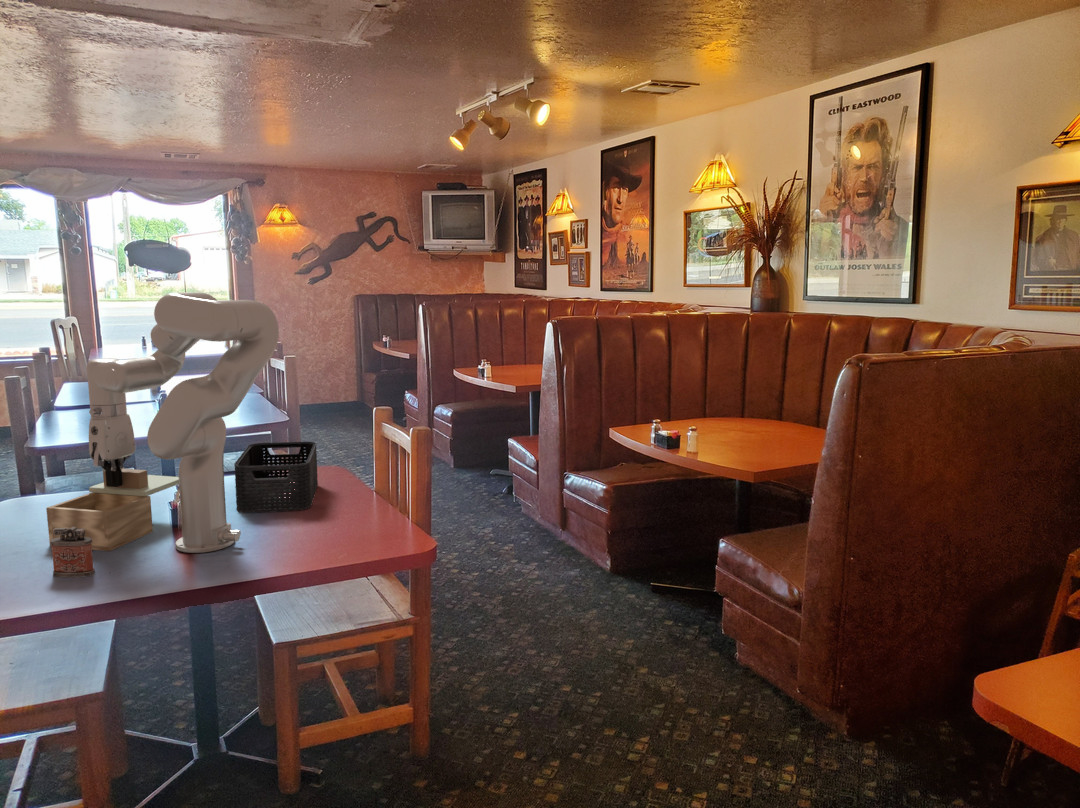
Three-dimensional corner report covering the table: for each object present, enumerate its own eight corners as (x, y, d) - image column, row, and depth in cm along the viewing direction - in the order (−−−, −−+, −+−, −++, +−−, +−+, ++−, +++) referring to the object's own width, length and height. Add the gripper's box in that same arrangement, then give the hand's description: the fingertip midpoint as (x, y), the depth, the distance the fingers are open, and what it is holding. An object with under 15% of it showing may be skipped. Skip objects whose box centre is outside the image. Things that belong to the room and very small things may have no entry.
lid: (184, 481, 198) (183, 462, 197) (146, 496, 184) (144, 475, 183) (130, 478, 201) (129, 458, 200) (89, 492, 188) (87, 471, 187)
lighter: (98, 571, 162) (94, 525, 160) (89, 577, 158) (85, 530, 157) (59, 571, 161) (55, 525, 160) (49, 577, 158) (45, 530, 156)
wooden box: (152, 531, 187) (150, 496, 186) (109, 551, 173) (106, 512, 172) (96, 527, 190) (93, 491, 189) (49, 545, 177) (46, 507, 175)
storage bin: (310, 511, 206) (308, 462, 204) (234, 514, 202) (231, 465, 200) (319, 484, 234) (317, 440, 232) (252, 486, 230) (249, 442, 228)
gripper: (98, 416, 174) (104, 495, 177) (144, 406, 188) (149, 479, 191) (70, 415, 176) (76, 493, 178) (118, 405, 190) (123, 477, 193)
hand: (114, 485), depth 185 cm, fingers closed
